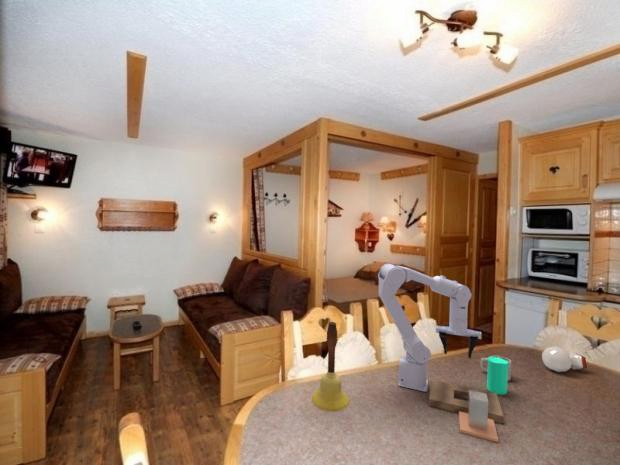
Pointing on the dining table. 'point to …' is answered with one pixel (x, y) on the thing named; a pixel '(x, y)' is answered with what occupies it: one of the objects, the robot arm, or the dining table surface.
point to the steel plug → (477, 410)
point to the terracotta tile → (473, 431)
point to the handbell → (331, 380)
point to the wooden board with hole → (444, 399)
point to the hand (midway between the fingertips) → (457, 355)
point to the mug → (501, 358)
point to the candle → (497, 375)
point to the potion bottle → (562, 359)
